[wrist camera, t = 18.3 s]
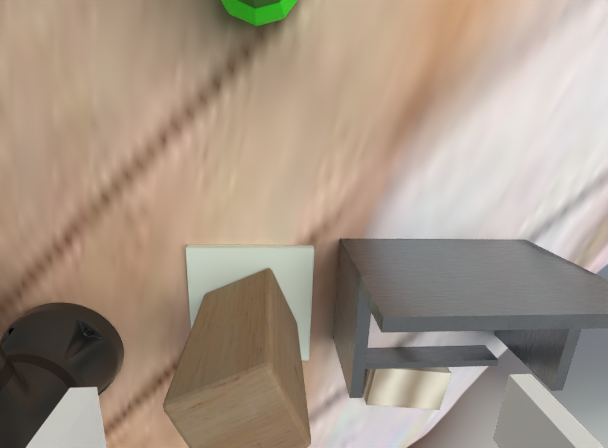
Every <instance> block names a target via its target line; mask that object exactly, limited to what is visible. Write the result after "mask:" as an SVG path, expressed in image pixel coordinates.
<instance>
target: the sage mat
mask: <svg viewBox="0 0 608 448" xmlns="http://www.w3.org/2000/svg"><path fill="white" fill-rule="evenodd" d="M186 262H187V277H188V292H189V308H190V323H191V329H192V326H193V324H194V321H195V318H196V316H197V313H198V310H199V308H200V305H201V302H202V300H203V297H204V295H205V294H206V293H208V292H211V291H213V290H216V289H218V288H221V287H223V286H226V285H228V284H230V283H233V282H235V281H238V280H240V279H243V278H245V277H248V276H250V275H253V274H255V273H258V272H260V271H263V270H265V269H268V268H270V269H271V270H272V271H273V273H274V275H275V277H276V280H277V282H278V284H279V286H280V288H281V290H282V292H283V294H284V296H285V299H286V301H287V303H288V305H289V307H290V309H291V311H292V313H293V315H294V318H295V320H296V322H297V327H298V335H299V343H300V352H301V360H309V347H310V326H311V305H312V285H313V264H314V246H313V245H187V247H186Z"/></svg>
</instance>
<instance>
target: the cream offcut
mask: <svg viewBox="0 0 608 448" xmlns="http://www.w3.org/2000/svg"><path fill="white" fill-rule="evenodd" d="M451 374H452V373H451V372H450V370H449V369H448V367H427V368H392V369H371V370H370V373H369V377H368V381H367V385H366V389H365V393H364V398H365V402H366V405H376V406H391V407H406V408H420V409H435V410H439V409H440V406H441V403H442V400H443V397H444V394H445V391H446V388H447V385H448V382H449V379H450V376H451Z"/></svg>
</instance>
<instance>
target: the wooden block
mask: <svg viewBox="0 0 608 448" xmlns="http://www.w3.org/2000/svg"><path fill="white" fill-rule="evenodd" d="M163 408H164V411H165V412H166V414H167V415H168V417H169V418H170V420H171V421H172V423H173V424H174V426H175V427H176V429H177V430H178V432H179V433H180V434H181V436H182V437H183V439H184V440H185V442H186V443H187V445H188V446H189V448H307V447H308V446H309V445H310V444H311V435H310V427H309V418H308V410H307V402H306V393H305V385H304V377H303V368H302V360H301V352H300V343H299V335H298V327H297V322H296V320H295V318H294V315H293V313H292V311H291V309H290V307H289V305H288V303H287V301H286V299H285V296H284V294H283V292H282V290H281V288H280V286H279V284H278V282H277V280H276V277H275V275H274V273H273V271H272V270H271V269H270V268H268V269H265V270H263V271H260V272H258V273H255V274H253V275H250V276H248V277H245V278H243V279H240V280H238V281H235V282H233V283H230V284H228V285H226V286H223V287H221V288H218V289H216V290H213V291H211V292H208V293H206V294H205V295H204V297H203V300H202V302H201V305H200V308H199V310H198V313H197V316H196V318H195V321H194V324H193V326H192V329H191V332H190V334H189V337H188V340H187V342H186V345H185V348H184V350H183V353H182V356H181V358H180V361H179V364H178V366H177V369H176V372H175V374H174V377H173V380H172V382H171V385H170V388H169V390H168V393H167V396H166V398H165V401H164V404H163Z"/></svg>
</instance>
